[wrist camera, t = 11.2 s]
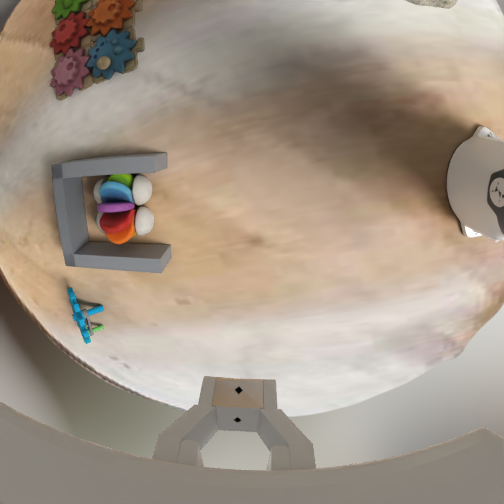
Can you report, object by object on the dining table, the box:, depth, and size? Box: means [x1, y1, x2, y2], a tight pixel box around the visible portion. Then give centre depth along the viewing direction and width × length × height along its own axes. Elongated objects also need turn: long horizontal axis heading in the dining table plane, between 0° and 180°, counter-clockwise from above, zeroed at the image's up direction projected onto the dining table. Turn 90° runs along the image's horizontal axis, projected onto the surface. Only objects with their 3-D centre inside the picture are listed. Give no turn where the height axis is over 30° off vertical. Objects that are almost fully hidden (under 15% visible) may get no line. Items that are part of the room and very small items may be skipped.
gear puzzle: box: [50, 0, 144, 100], centre depth 24 cm, size 31×16×4 cm, turn 7°
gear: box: [68, 287, 104, 344], centre depth 43 cm, size 11×6×10 cm
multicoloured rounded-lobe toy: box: [93, 174, 154, 244], centre depth 35 cm, size 8×10×7 cm
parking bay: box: [52, 153, 172, 273], centre depth 36 cm, size 16×15×5 cm
